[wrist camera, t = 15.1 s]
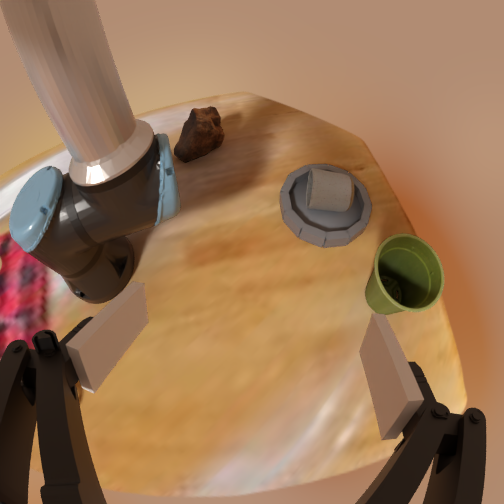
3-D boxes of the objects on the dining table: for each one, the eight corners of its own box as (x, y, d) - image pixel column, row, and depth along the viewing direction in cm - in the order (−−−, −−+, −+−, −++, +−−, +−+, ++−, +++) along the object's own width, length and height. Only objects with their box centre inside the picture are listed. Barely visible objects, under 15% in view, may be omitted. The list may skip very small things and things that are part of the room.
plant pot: (391, 254, 47) (417, 222, 37) (420, 309, 43) (456, 288, 32) (339, 278, 46) (359, 249, 36) (370, 340, 41) (401, 327, 31)
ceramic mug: (347, 220, 50) (358, 195, 43) (306, 216, 50) (312, 191, 43) (342, 178, 54) (350, 153, 47) (304, 175, 55) (309, 148, 48)
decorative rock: (218, 133, 62) (212, 97, 53) (230, 146, 60) (226, 108, 50) (173, 155, 60) (161, 119, 50) (183, 170, 58) (171, 133, 48)
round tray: (262, 198, 53) (262, 188, 51) (325, 162, 57) (328, 153, 54) (321, 264, 47) (324, 257, 44) (382, 217, 51) (387, 208, 48)
